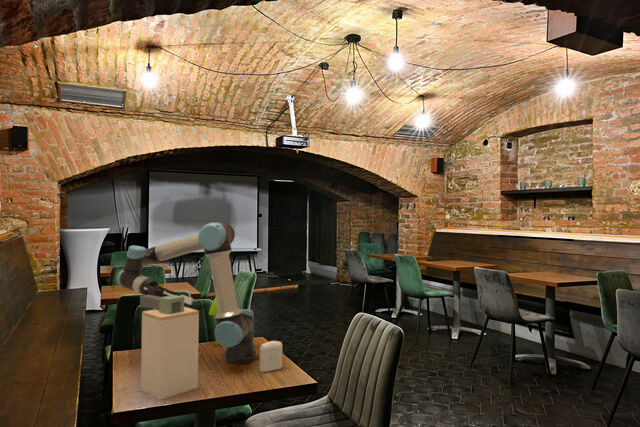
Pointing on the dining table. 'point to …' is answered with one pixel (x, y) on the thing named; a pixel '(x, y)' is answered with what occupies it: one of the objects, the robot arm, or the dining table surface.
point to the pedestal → (169, 352)
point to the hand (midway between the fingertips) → (183, 300)
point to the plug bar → (163, 303)
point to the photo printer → (270, 356)
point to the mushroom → (214, 312)
